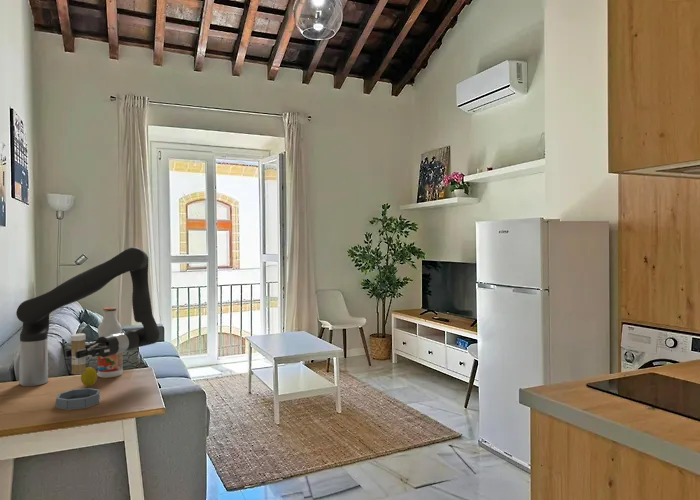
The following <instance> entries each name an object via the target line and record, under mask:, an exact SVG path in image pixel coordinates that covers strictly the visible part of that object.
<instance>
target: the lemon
mask: <svg viewBox="0 0 700 500" xmlns="http://www.w3.org/2000/svg"><path fill="white" fill-rule="evenodd" d="M97 380H98V371H97V370H96V369H95V368H94V367H92V366H86V372H85V373H82V374H80V381H81V383H82V384H83V385H84V386H86V387H87V388H92V387H91V386H93V385H94V384H95V383H96V382H97Z"/></svg>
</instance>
